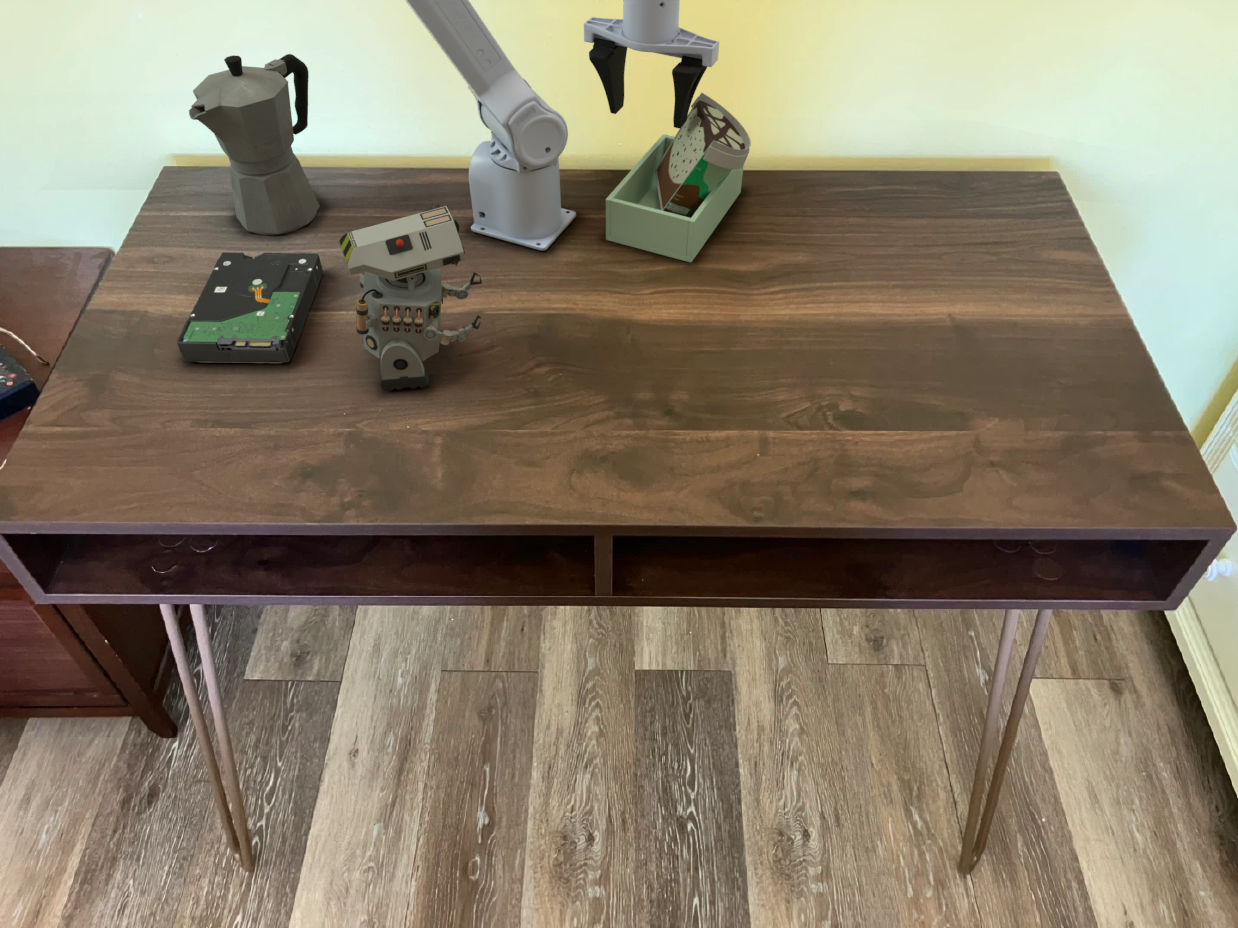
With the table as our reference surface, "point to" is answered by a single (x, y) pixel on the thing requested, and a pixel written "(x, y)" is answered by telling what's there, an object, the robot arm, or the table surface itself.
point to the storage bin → (659, 231)
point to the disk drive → (252, 308)
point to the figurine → (405, 291)
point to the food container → (700, 157)
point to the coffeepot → (260, 141)
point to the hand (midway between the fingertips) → (648, 116)
